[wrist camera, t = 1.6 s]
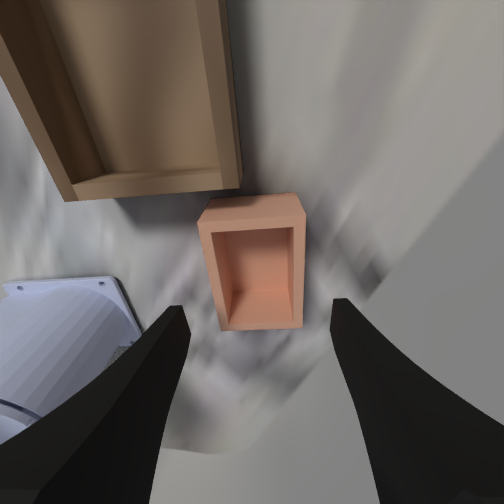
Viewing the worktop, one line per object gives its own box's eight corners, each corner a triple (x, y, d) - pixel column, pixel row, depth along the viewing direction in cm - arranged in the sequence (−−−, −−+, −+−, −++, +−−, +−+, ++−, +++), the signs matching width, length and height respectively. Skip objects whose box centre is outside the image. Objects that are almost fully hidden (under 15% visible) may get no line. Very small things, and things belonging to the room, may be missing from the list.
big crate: (103, 184, 15) (64, 201, 12) (-24, -131, 9) (-169, -258, 6) (243, 173, 14) (239, 187, 11) (208, -175, 8) (179, -340, 5)
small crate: (227, 292, 19) (220, 331, 16) (211, 198, 15) (196, 222, 12) (294, 289, 19) (302, 328, 15) (295, 192, 15) (306, 214, 11)
